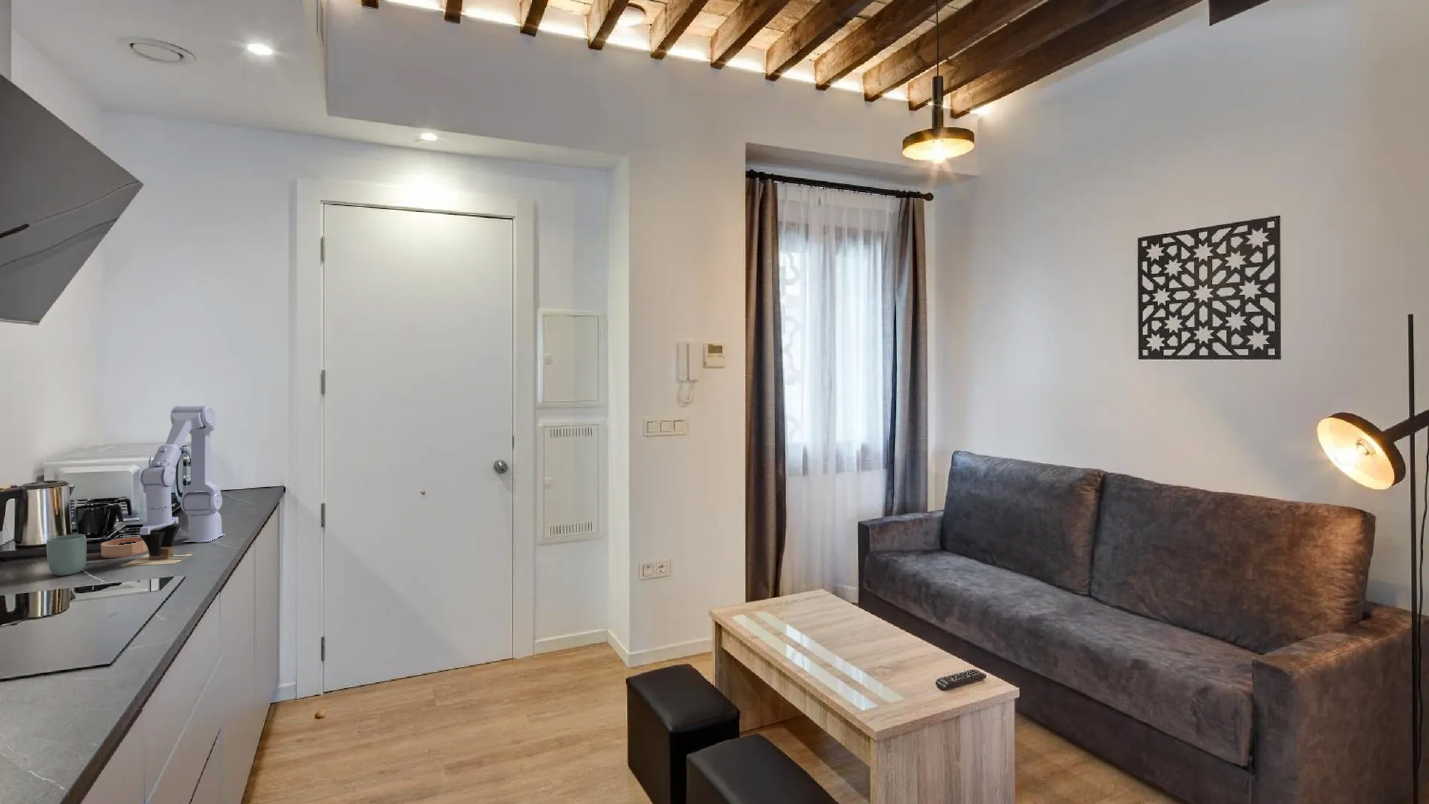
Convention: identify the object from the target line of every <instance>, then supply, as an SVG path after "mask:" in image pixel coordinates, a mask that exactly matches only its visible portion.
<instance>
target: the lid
mask: <svg viewBox="0 0 1429 804" xmlns="http://www.w3.org/2000/svg"><path fill="white" fill-rule="evenodd" d="M173 552H174V547H173V546H172V547H161V553H160V555H159V556H151V555H150V553H149V552H148V553H147V554H145V555H143V556H141V557H138V558H136V559H133V560H131V561H129V562H126V563H123V564H121V565H120V566H121V567H138V566H139V567H140V566H143V565H144V566H160V565H161V566H163V565H164V566H165V565H175V564H177V563H178V562H179V563H180V562H181V561H182V560H170V559H183V560H185V559H187V558H188V557H185V558H181V557H180V558H177V557H175V558H174V557H173V556H190V557H192V556H193V555H192V554H186V555H173ZM175 552H176V553H177V552H178V551H175ZM185 552H186V553H196V554H198V553H197V552H192V551H185ZM191 555H192V556H191ZM176 562H177V563H176ZM174 563H175V564H174Z"/></svg>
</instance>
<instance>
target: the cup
mask: <svg viewBox="0 0 1429 804" xmlns="http://www.w3.org/2000/svg"><path fill="white" fill-rule="evenodd" d="M87 549H88V548H87V537H86V534H84V533H83V534H82V533H73V534H72V533H71V534H64V535H57V536H53V537H50V538H48V539H47V540H46V558H47V564H48V569H49V571H50V572H51V573H52V574H53V575H54V576H57V577H58V576H59V577H61V576H62V577H65V576H71V575H75V574H77V573H79V572H81V571H83V570H84V568H85V566H86V562H87V555H88V554H87V553H88V552H87Z"/></svg>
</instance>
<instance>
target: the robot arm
mask: <svg viewBox="0 0 1429 804" xmlns="http://www.w3.org/2000/svg"><path fill="white" fill-rule="evenodd" d="M170 421H171V425H172V426H171V428H170V431H169V432H168V437H167V439H166V442H165V444H164V445H160V446H159V447H158V449H157V450H156V453H155V454H154V457H153V458H152V461H151V462H150V464H149V466H147V467H146V468H144V469H143V470H142V471H141V473H140V478H139V481H140V482H139V483H140V484H141V486H142V490H143V493H145V502H146V503H145V505H146V522H143V523H142V527H139V537H141V538H142V539H143V541H144V542H145V544H146V545H147V548H148V550H149V551H148V554H149V553H150V555H151V556H159V555H160V553H161V547H173V544H174V541H175V537H176V535H177V533H178V532H179V530H180V525H178V524H179V517H178V516H173V509H172V489H171V486H172V485H173V483H174V482H175V480H176V472H177V468H176V466H177V465H178V463H179V460H180V458H181V456H182V451H181V449H180V448H181V446H182V445H183V444H184V443H183V442H184V441H185V439H186V438H187V437H188V435H190V436H191V437H190V438H191V440H190V441H191V443H190V444H191V446H190V447H191V448H190V449H191V451H190V453H191V454H190V456H191V457H190V459H191V460H190V484H188V485H187V486H186V487H184V488H183V489H182V494H181V498H180V503H179V505H180V509H181V510H182V511H183V512H184V513H185V515H187V516H188V518H187V519H188V538H187V539H186V540H183V541H182V543H183V542H196V543H211V542H213V541H215V540H217V539H219V538H218V537H220V536H222V537H224V536H225V535H226V533H223V530H222V529H223V528H222V526H223V525H222V524H223V523H222V516H221V513H220V512H219V511H220V509H221V507H222V506H223V496H222V493H221V488H220V487H219V486H218V485H216V484H215V483H213V482H212V481H211V459H212V458H211V455H212V454H211V452H212V451H211V449H212V446H211V445H212V444H211V441H212V438H211V436H212V433H211V432H213V431H214V430H215V429H216V428H215V426H216V412H215V411H214V410H213V408H212V407H211V406H210V405H208V404H207V405H175V406H174V407H173V408H172V410H171V411H170ZM223 535H224V536H223ZM220 538H221V537H220ZM214 539H215V540H214ZM212 540H213V541H212ZM210 541H211V542H210Z"/></svg>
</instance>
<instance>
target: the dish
mask: <svg viewBox="0 0 1429 804" xmlns="http://www.w3.org/2000/svg"><path fill="white" fill-rule="evenodd" d="M133 541H134V542H136V543H131V544H124V545H119V544H120V543H126V542H133ZM147 552H149V550H148V548H147V545H146V544H145V542H144V541H143V539H142V538H141V537H140V536H130V537H121V538H117V539H115V538H114V539H112V540H107V541H104V542H101V543H100V554H101V558H106V559H111V558H112V559H113V558H114V559H116V558H118V559H119V558H125V557H126V558H127V557H132V556H137V555H138V556H139V555H142V554H145V553H147Z"/></svg>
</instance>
